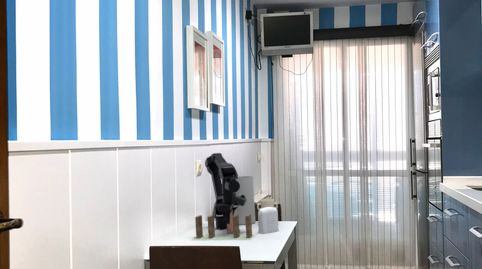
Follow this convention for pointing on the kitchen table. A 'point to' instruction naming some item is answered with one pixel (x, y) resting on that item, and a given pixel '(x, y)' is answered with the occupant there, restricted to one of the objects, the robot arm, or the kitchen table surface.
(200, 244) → the kitchen table surface
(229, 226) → the red domino
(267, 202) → the character mug
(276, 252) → the kitchen table surface
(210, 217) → the domino
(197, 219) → the domino
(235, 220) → the domino
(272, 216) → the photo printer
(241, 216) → the cylinder vase
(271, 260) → the kitchen table surface
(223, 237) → the sage board
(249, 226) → the domino
